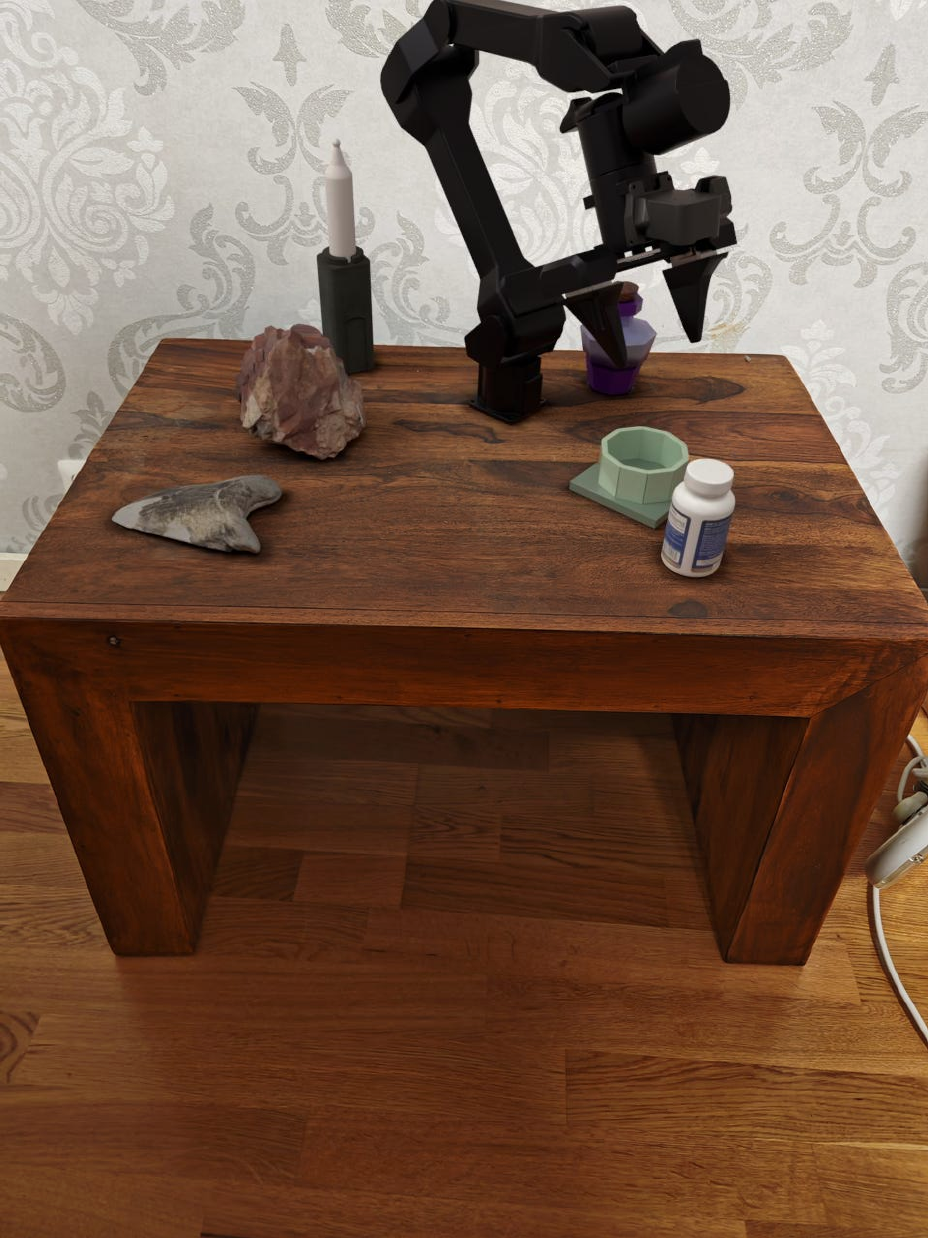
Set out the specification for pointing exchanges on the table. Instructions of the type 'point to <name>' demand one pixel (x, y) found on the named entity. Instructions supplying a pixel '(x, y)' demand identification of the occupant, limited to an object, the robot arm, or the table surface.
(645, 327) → the potion bottle
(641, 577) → the table surface
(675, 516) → the pill bottle
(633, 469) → the cup holder
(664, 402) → the table surface
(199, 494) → the fossil
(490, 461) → the table surface
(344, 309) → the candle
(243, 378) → the mineral specimen
